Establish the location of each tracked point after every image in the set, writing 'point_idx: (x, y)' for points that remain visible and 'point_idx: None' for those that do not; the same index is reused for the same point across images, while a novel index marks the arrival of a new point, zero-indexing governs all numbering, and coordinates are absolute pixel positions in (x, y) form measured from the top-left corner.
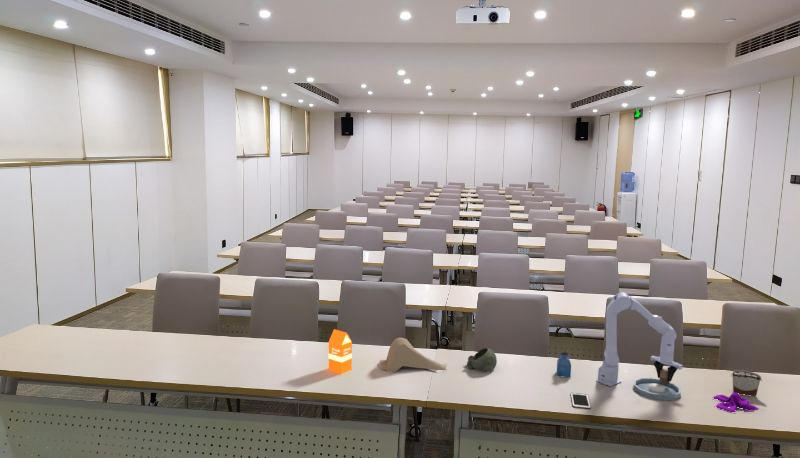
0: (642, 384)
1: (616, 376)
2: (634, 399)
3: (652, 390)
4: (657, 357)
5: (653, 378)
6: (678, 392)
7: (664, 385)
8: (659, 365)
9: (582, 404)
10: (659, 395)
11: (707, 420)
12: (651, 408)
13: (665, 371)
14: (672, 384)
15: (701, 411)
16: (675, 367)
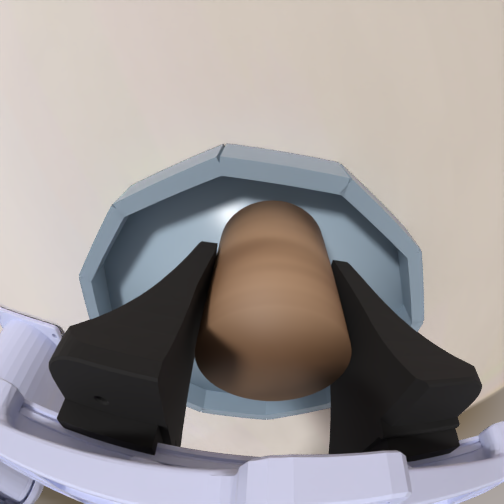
0: (134, 294)
1: (52, 387)
2: (223, 427)
3: None
4: (51, 484)
5: (135, 199)
6: None
7: (261, 186)
8: (177, 432)
9: None
10: (310, 409)
11: (480, 392)
12: (306, 441)
13: (288, 389)
14: (342, 194)
15: (482, 359)
16: (434, 456)
